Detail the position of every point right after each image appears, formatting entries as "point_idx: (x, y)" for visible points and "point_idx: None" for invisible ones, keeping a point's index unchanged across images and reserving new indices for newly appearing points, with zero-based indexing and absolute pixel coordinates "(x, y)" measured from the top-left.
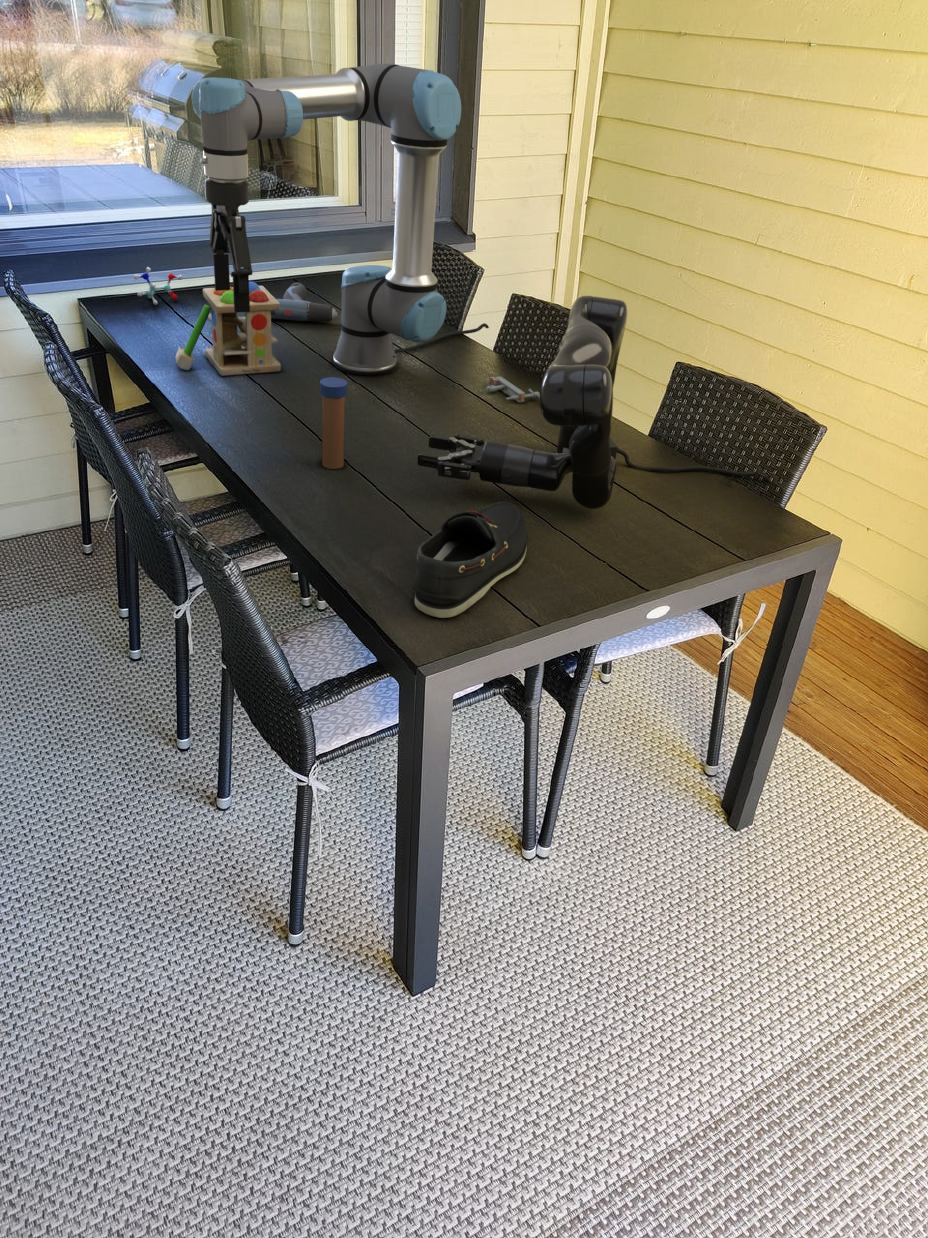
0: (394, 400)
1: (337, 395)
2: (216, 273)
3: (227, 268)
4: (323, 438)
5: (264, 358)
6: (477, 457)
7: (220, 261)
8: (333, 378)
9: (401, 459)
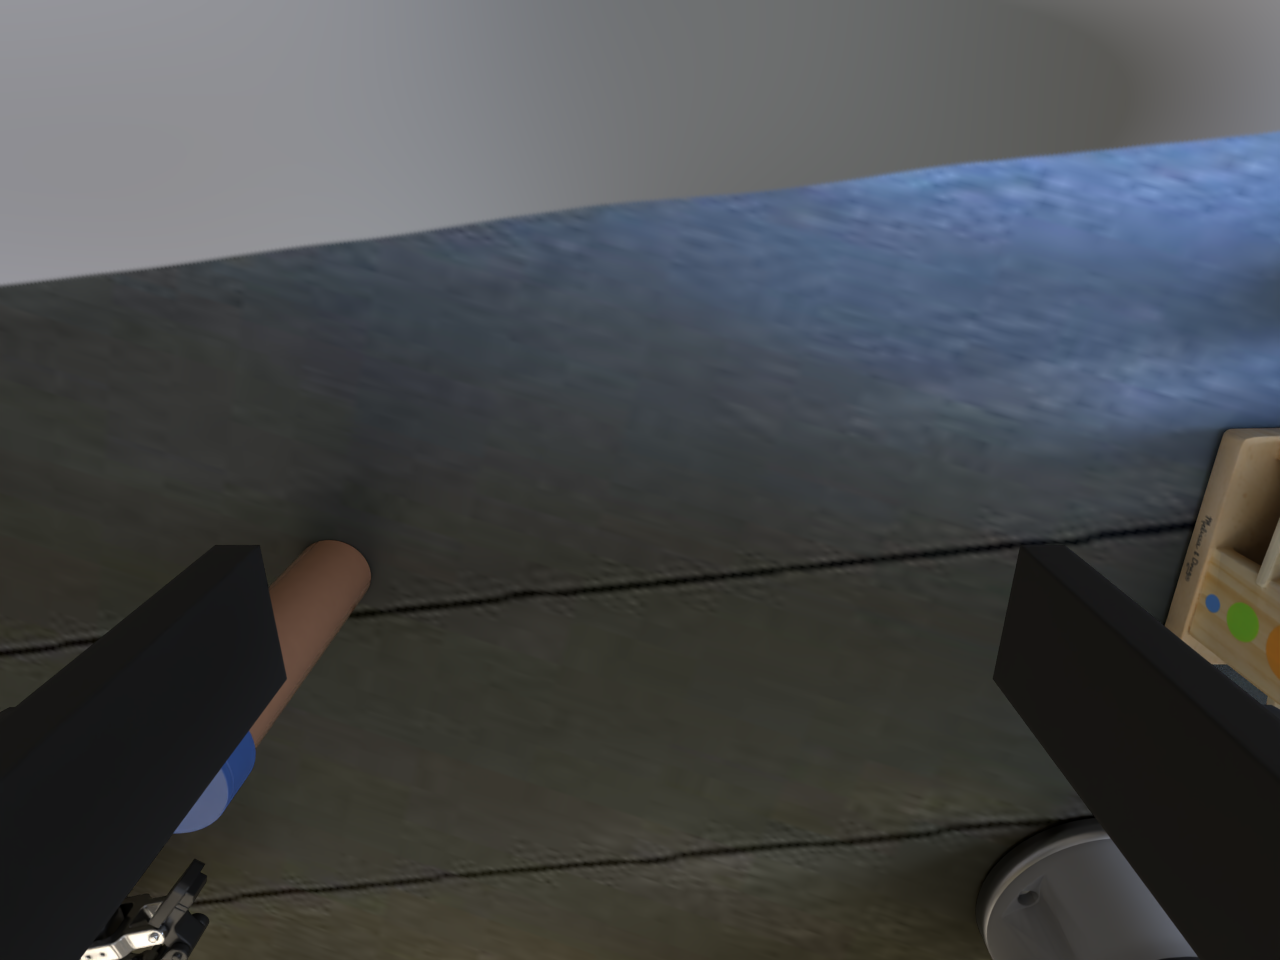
0: (767, 877)
1: None
2: (1135, 669)
3: (1136, 849)
4: (275, 590)
5: (1218, 623)
6: None
7: (1243, 864)
8: (210, 794)
9: (340, 758)
